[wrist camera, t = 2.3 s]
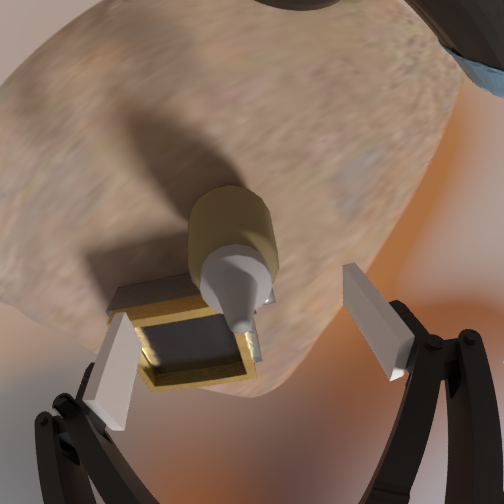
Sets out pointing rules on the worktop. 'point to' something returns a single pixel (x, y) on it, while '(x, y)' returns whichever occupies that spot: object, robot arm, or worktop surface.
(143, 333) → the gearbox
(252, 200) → the squeeze bottle
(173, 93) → the worktop surface
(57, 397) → the robot arm
